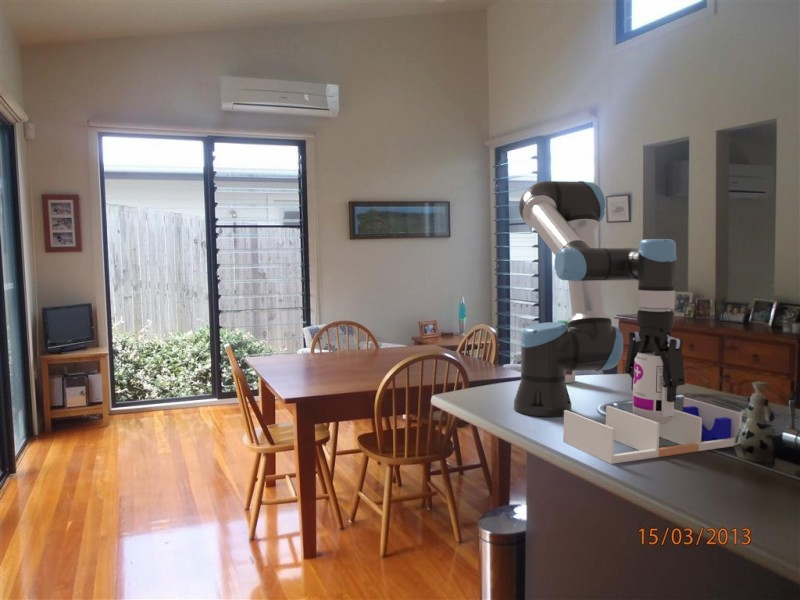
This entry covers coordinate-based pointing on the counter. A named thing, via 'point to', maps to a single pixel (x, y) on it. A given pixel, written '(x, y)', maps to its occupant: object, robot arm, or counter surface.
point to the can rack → (647, 432)
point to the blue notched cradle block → (719, 428)
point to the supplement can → (649, 387)
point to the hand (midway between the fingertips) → (652, 411)
